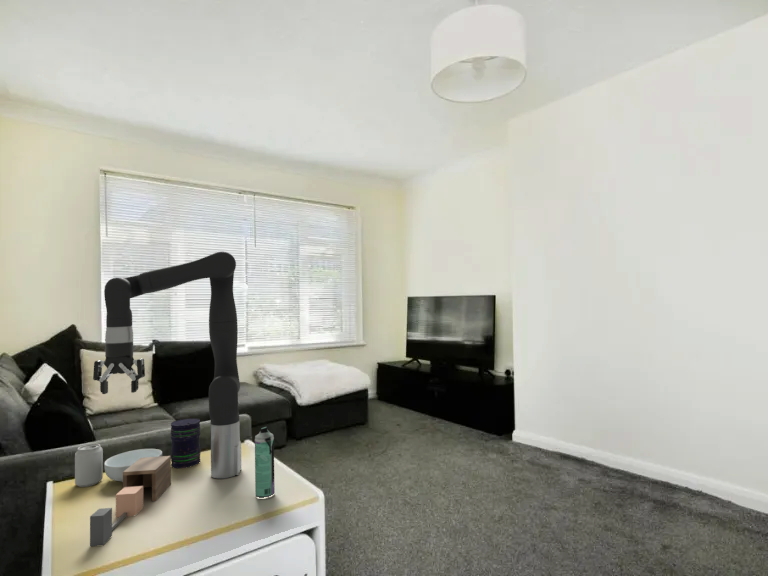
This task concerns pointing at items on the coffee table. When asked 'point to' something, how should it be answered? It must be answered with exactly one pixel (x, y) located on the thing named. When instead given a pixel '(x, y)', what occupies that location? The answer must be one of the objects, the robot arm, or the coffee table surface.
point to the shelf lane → (149, 474)
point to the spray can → (264, 464)
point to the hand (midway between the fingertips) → (119, 392)
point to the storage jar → (185, 443)
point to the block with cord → (126, 505)
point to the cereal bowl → (126, 462)
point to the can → (88, 465)
